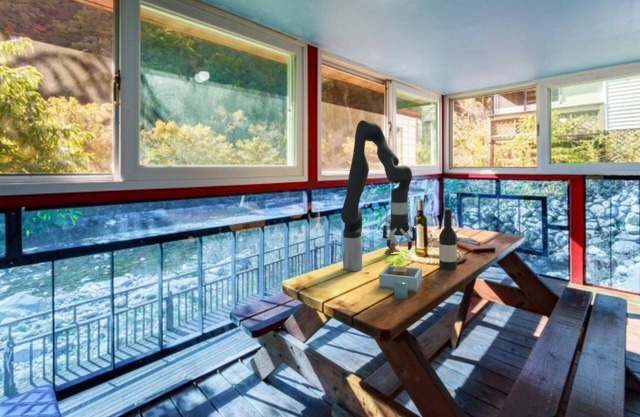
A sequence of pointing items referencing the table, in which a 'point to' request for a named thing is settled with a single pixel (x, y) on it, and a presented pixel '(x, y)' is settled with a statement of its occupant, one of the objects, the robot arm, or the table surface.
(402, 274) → the walnut block
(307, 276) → the table surface
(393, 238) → the candle holder
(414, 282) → the blue-grey tote
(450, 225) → the wine bottle
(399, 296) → the teal glossy cylinder
